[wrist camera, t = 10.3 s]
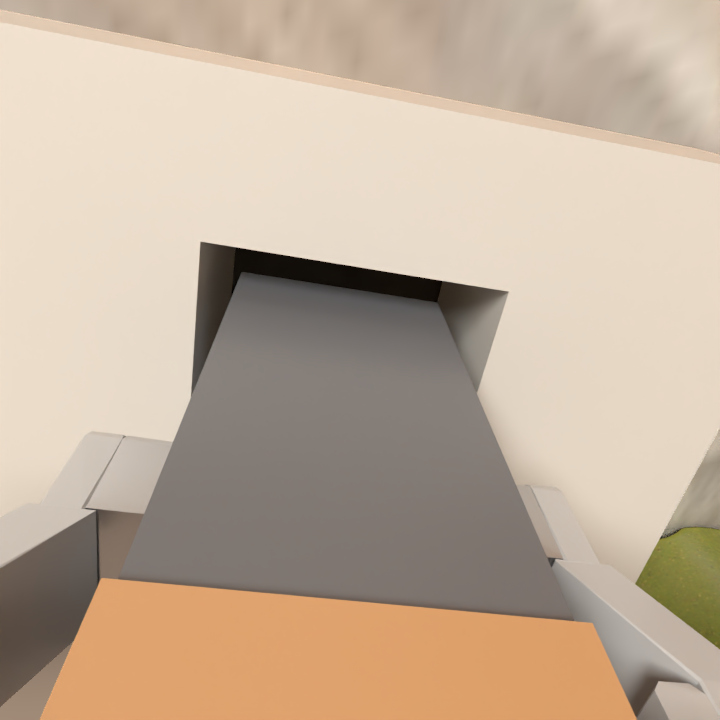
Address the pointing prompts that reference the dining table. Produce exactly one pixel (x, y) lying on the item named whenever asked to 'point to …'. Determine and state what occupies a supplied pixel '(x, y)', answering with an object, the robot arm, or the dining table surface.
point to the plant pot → (687, 578)
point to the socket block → (350, 258)
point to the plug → (334, 541)
